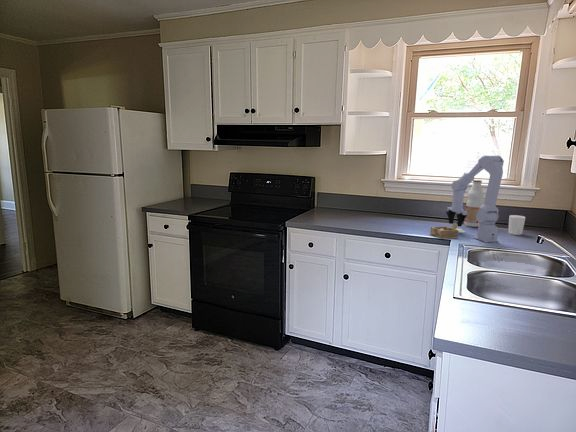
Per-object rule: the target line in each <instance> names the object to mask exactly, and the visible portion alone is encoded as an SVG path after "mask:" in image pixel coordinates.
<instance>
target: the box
mask: <svg viewBox="0 0 576 432" xmlns="http://www.w3.org/2000/svg"><path fill="white" fill-rule="evenodd" d="M441 228H442V229H444V230H447V231H442V230H440V229H441ZM430 235H431V236H435V237H437V238H439V239H455V238H459V237H458V236H459V232H458V230H456V229H453V228H452V227H450V226H448V225H447V226H431V227H430Z"/></svg>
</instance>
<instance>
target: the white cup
mask: <svg viewBox="0 0 576 432" xmlns="http://www.w3.org/2000/svg"><path fill="white" fill-rule="evenodd" d="M525 221H526V216H524V215H517V214H510V215H509V219H508V234H509V235H514V236H522V235H523V231H524V227H525Z"/></svg>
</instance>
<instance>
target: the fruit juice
mask: <svg viewBox="0 0 576 432" xmlns="http://www.w3.org/2000/svg"><path fill="white" fill-rule="evenodd" d="M482 183H483V181H482V179H474V180H473V181H472V185H471V187H470V190H469V191H468V192H467V200H466V204H465V211H467V213H466V215H467V217H466V218H465V219H464V221H463V224H464V225H465V226H467V227H473V228H475V227H476V228H478V226H479V223H478V221H477V219H476V214H477V212H478V211H479V208H480V207H481V206H482V205H483V204H484V199H485V192H484V190H483V187H482Z"/></svg>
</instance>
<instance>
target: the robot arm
mask: <svg viewBox="0 0 576 432" xmlns="http://www.w3.org/2000/svg"><path fill="white" fill-rule="evenodd" d="M504 161H505V160H504V159H503V158H502V156H500V155H484V154H483V155H482V156H481V157H480V158H479V159H478V160H477V163H476V164H475V166H473V167H472V169H471V170H470V171H467V172H464V173H463V175H461V176H460V177H459V178H458V179H457V180H453V181H452V184H451V189H452V191H453V192H452V200H451V201H452V202H451V206H447V211H445V213H446V215H447V218H448V223H449V225H451V224H454V220H455V217H456V218H457V221H456V222H457V223H456V224H457V227H462V226H463V224H464V221H465V218H466V217H467V215H466V213H467V211H466V210H465V209H464V208H463V206H464V197H465V193H466V190H467V188H468V185H470V184H471V183H473V180H475V176H477V175H479V173H481V172H482V171H483V170H485V172H487V173H488V174H489V179H488V183H487V188H486V192H485V195H484V200H483V205H482V206H481V207H480V208H479V211H478V212H477V214H476V219H477V221H478V223H479V226H478V227H477V235H476V236H473V238H474V239H475V240H476V239H477V240H479V241H481V242H484V243H495V242H499V240H498V235H499V228H498V226H496V225H495V224H496V222H498V220H499V216H500V215H499V211H500V210H499V208H498V207H497V206H496V205H497V200H498V197H499V192H500V188H501V183H502V178H503V173H504V170H503V167H504Z"/></svg>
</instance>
